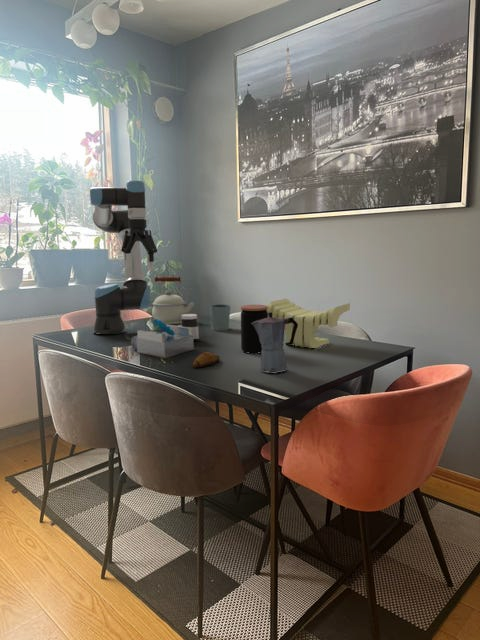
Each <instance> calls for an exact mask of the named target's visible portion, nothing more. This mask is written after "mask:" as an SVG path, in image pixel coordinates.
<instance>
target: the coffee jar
mask: <svg viewBox="0 0 480 640" xmlns="http://www.w3.org/2000/svg"><path fill="white" fill-rule="evenodd" d="M240 309H241V312H240V334H241V335H240V341H241V342H240V346H241V347H240V348H241V350H242V352H243V351H244V352H243V353H245V352H249V353H258V352H261V351H262V346H261V345H262V344H261V343H260V340H259V335H258V333H257V332H256V330H255V328H254V326H253V325H252V323H253V322H254V321H258V320H261V319H265V318H268V312H267V309H268V305H265V304H245V305H241V306H240Z"/></svg>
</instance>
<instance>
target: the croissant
mask: <svg viewBox="0 0 480 640" xmlns="http://www.w3.org/2000/svg"><path fill="white" fill-rule="evenodd" d="M220 359H221V357H220V356H219V355H218V354H217V353H216V354H215V353H212V352H209V351H205V352H202V353H201V354H199V355H198V356H197V357H196V358H195V359H194V361H193V363H192V368H193V369H198V368H204V367H207V366H212V365H214V364H216V363H218V362H219V361H220ZM215 362H216V363H215Z"/></svg>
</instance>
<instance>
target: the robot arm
mask: <svg viewBox="0 0 480 640" xmlns="http://www.w3.org/2000/svg"><path fill="white" fill-rule="evenodd" d="M125 185H126V187H103V186H102V187H100V186H97V187H90V188H89V199H90V205H92V206H94V211H93V213H92V221H93V223H94V225H95V226H96V227H97V228H98V229H100V230H101V231H103V232H106V233H110V234H118V237H119V238H120V239H121V243H122V246H121V249H120V250H121V252H122V253H123V263H124V273H125V274H124V275H125V281H124V282H123V283H122V285H123V286H120V284H119V283H113V284H112V283H109V284H106V285H100V286H97V287H96V288H95V289H94V298H93V299H94V300H95V301H94V303H95V305H94V306H95V322H94V325H93V328H92V332H95V333H100V334H115V335H119V333H120V334H123V333H125V332H126V326H125V324H124V323H125V322H124V321H123V318H122V314H121V313H122V312H121V311H135V310H139V311H140V310H147V309H148V308H149V307H150V306H151V304H150V303H151V301H150V296H151V292H152V290H151V289H152V287H151V285H149V284H148V283H147V281H146V280H145V279H144V275H143V271H144V270H143V264H142V255H141V254H142V253H141V245H140V243H141V244H142V246H143V247H144V249H145V250H146V252H147V254H146V266H147V268H146V269H147V271H151V270H154V262H155V257H154V256H155V255H154V254H155V253H157V252H158V249H157V246H156V244H155V241H154V239H153V235H152V230H151V229H147V230H146V228H147V227H148V226H147V219H146V218H147V209H146V208H147V207H146V188H145V187H146V186H145V182H144V181H143V180H128V181H126V183H125ZM114 206H120V207H121V206H127V209H113V208H112V207H114Z"/></svg>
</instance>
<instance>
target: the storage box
mask: <svg viewBox="0 0 480 640" xmlns="http://www.w3.org/2000/svg"><path fill="white" fill-rule="evenodd" d="M166 326H169V327H170V330H171V329H172V330H173V331H174V333H175V335H173V336H172V335H168V334H167V332H166V333H165V332H162V333H159V332H157V333H156V331H149V330H144V329H143V330H142V329H140V330H137V335H133V336H132V337H131V338H130V339H131V340H130V345H131V347H132V349H133V350H134V351H136V353H139V354H142V355H143V354H144V355H149V356H154V357H158V358H163V359H164V358H165V359H166V358H169V357H173V356H177V355H180V354H184V353H188V352H190V351H193V350H194V349H195V348H194V347H195V346H194V342H193V335H192V333H191V328H189V327H182V326H178V325H176V324H171V325H166Z"/></svg>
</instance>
